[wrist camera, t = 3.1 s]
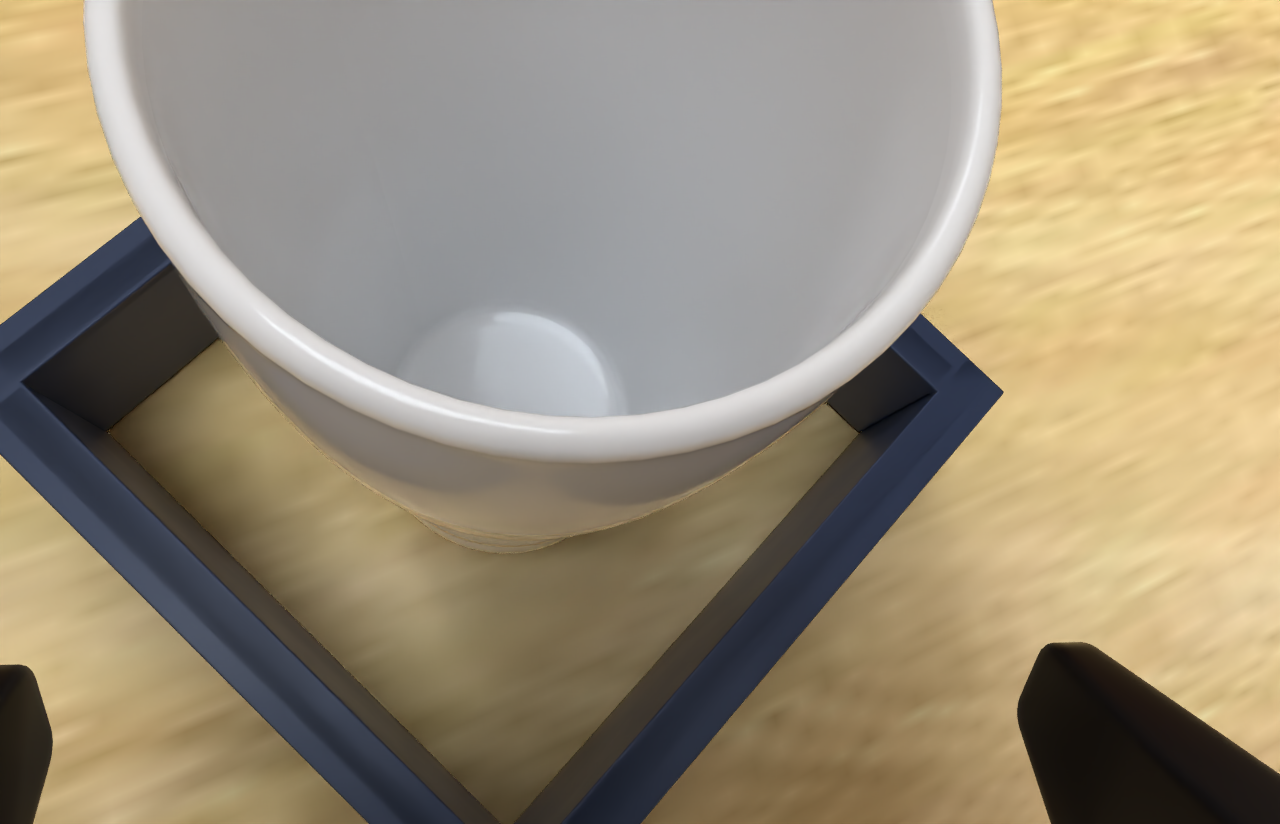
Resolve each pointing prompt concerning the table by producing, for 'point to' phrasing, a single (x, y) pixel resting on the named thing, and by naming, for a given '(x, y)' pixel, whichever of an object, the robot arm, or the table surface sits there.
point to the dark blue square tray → (310, 676)
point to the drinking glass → (550, 224)
